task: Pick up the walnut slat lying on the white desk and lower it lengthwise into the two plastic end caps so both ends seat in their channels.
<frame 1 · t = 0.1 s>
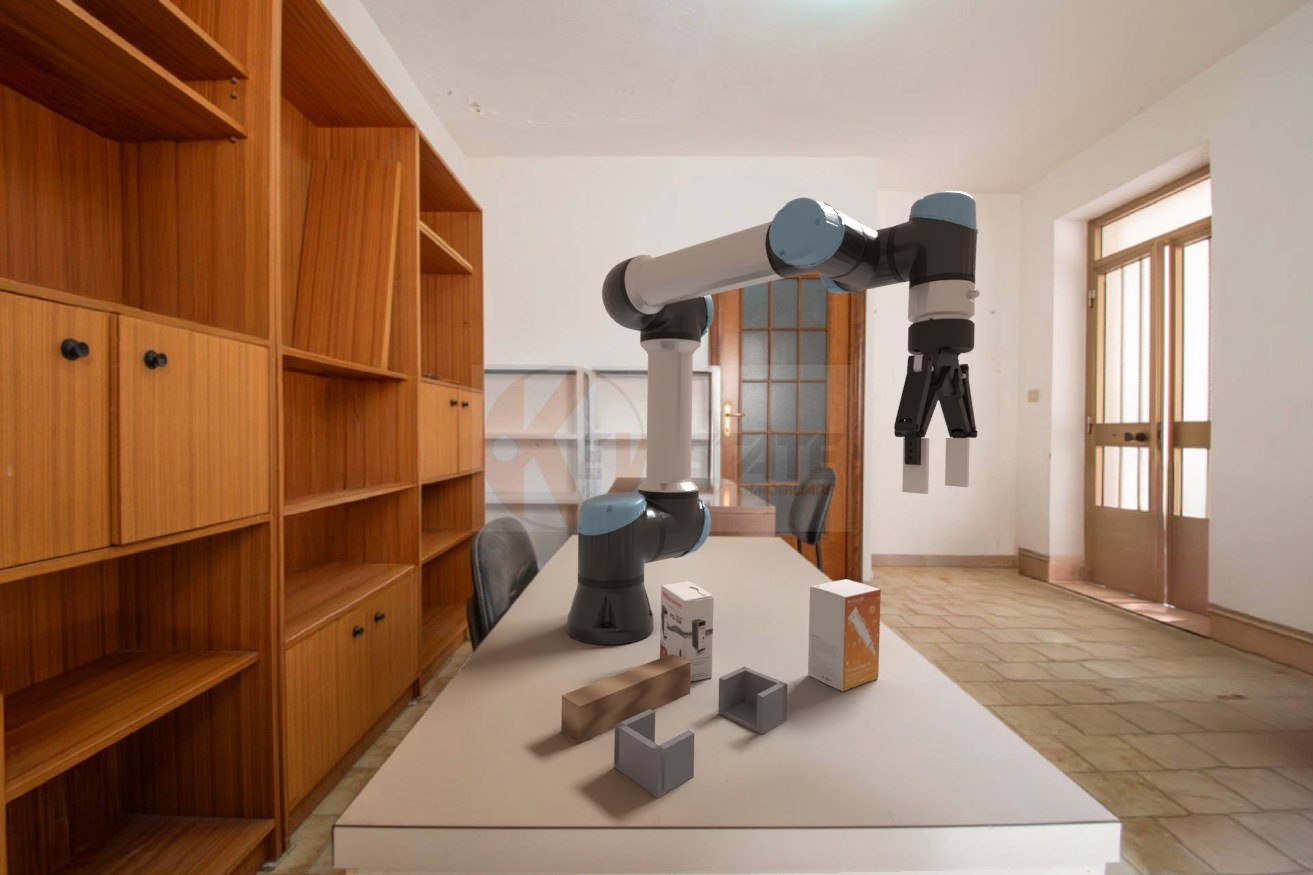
hand: (937, 489, 71), 28 cm above the table, fingers open, 13 cm apart
small box: (843, 678, 80), on the table
ink box: (684, 670, 82), on the table
slat: (630, 713, 70), on the table
endcap a: (653, 771, 57), on the table
endcap b: (752, 716, 69), on the table
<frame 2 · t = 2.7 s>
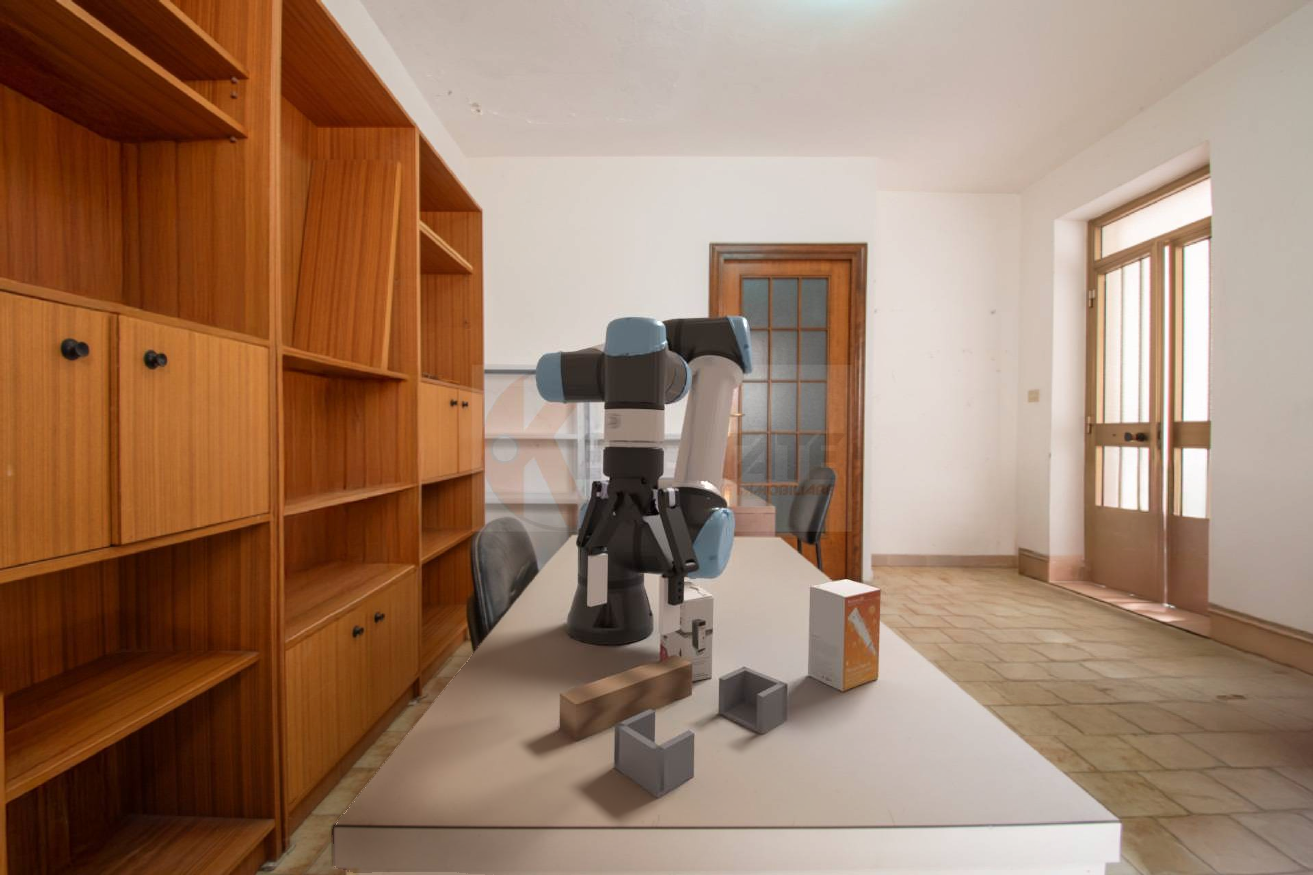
hand: (630, 617, 69), 12 cm above the table, fingers open, 13 cm apart
nothing on the table moved.
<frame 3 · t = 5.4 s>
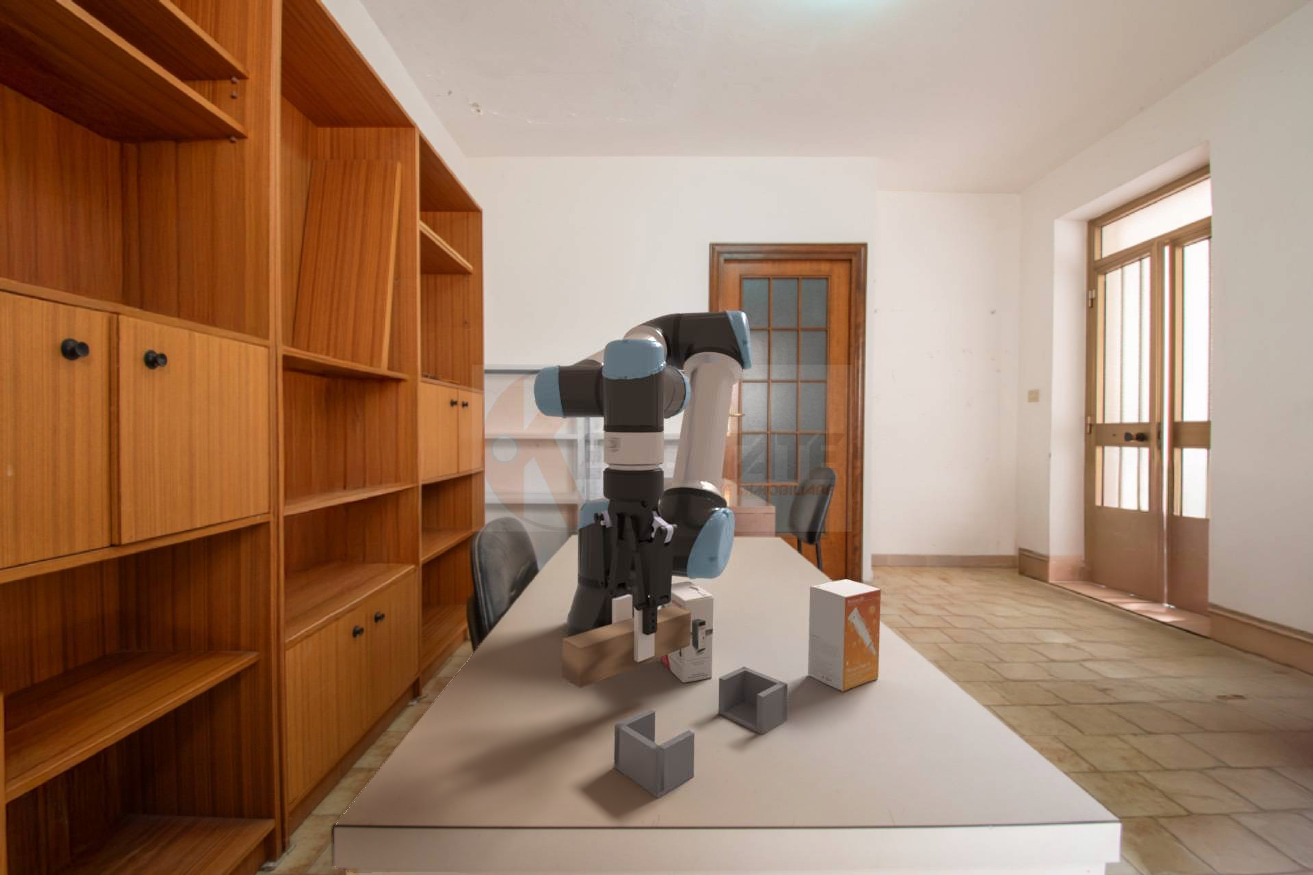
hand: (633, 651, 70), 7 cm above the table, fingers closed on slat, 3 cm apart
slat: (630, 660, 70), point 6 cm above the table, touching gripper
everything else where it was.
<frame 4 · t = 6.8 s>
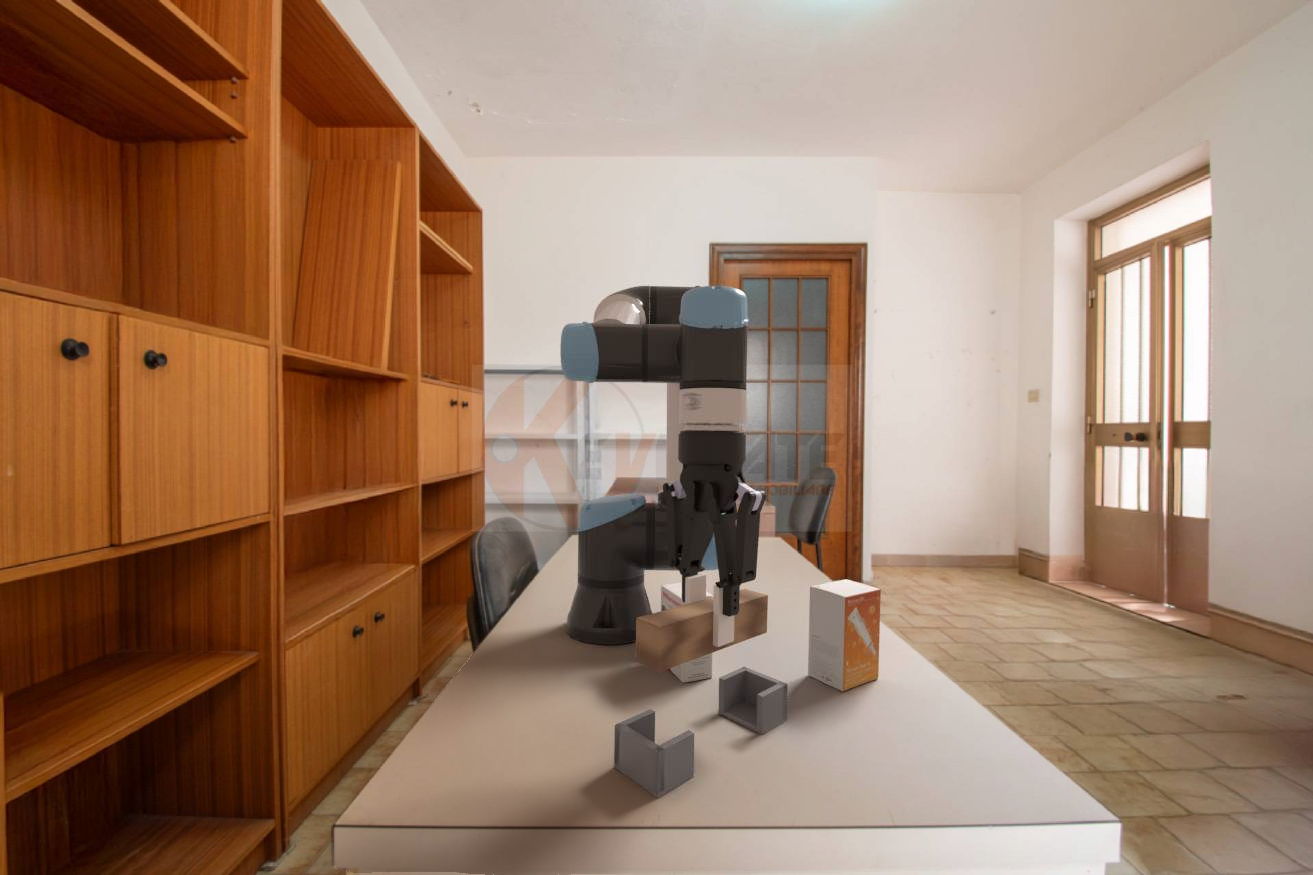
hand: (708, 637, 63), 12 cm above the table, fingers closed on slat, 3 cm apart
slat: (706, 645, 62), point 11 cm above the table, touching gripper
everything else where it was.
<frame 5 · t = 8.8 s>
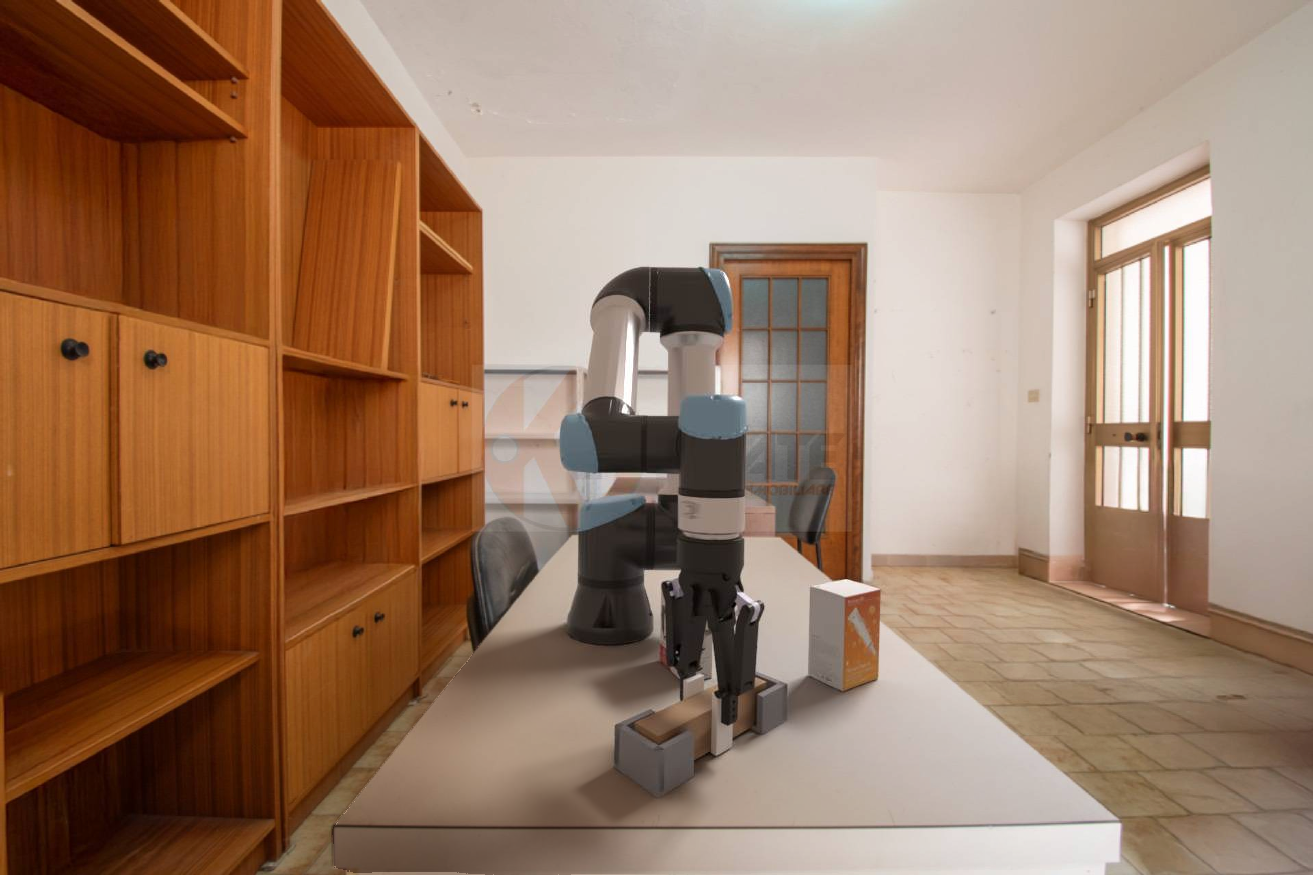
hand: (707, 741, 63), 0 cm above the table, fingers open, 4 cm apart
slat: (705, 740, 62), resting on endcap a, endcap b
everything else where it was.
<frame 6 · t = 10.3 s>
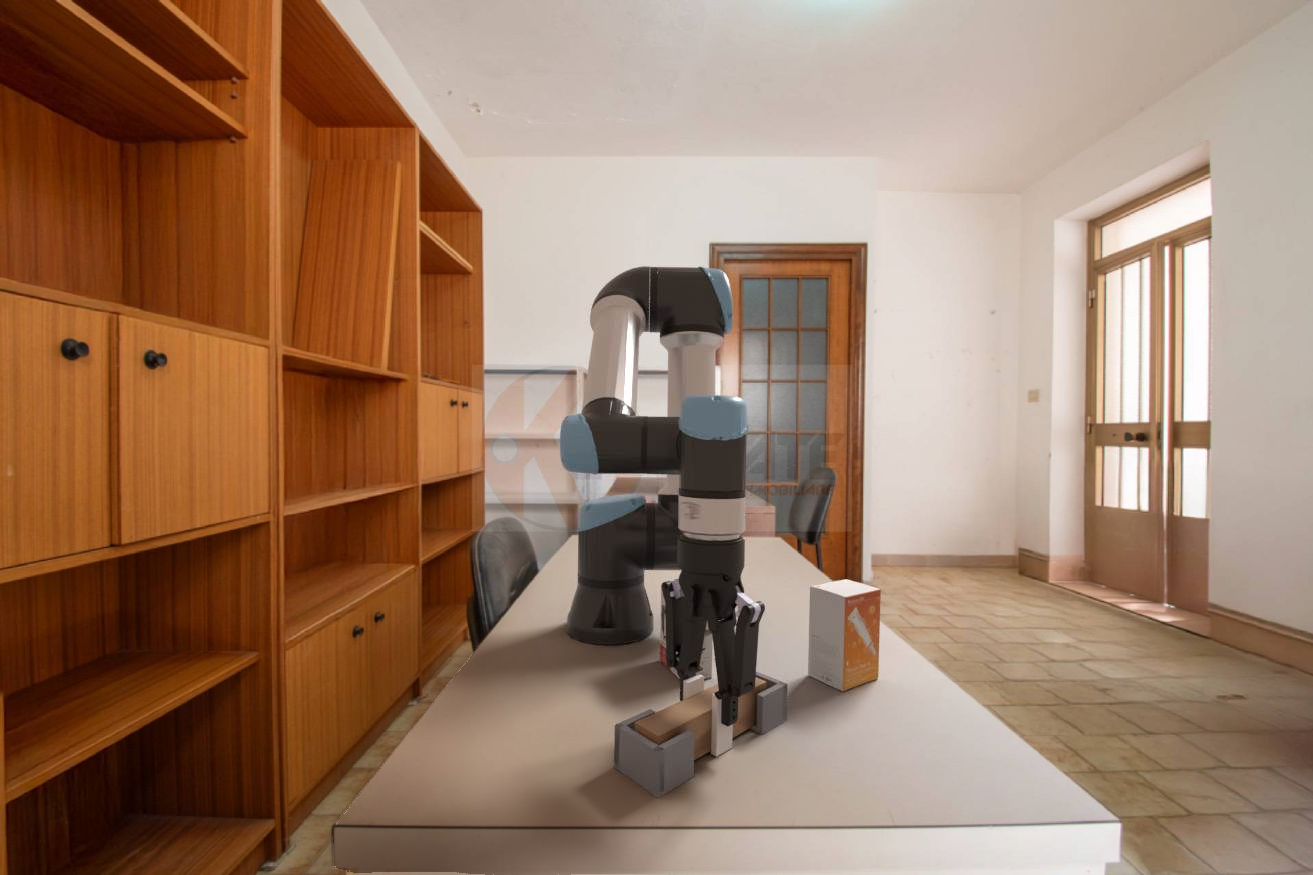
hand: (707, 742, 63), 0 cm above the table, fingers open, 4 cm apart
nothing on the table moved.
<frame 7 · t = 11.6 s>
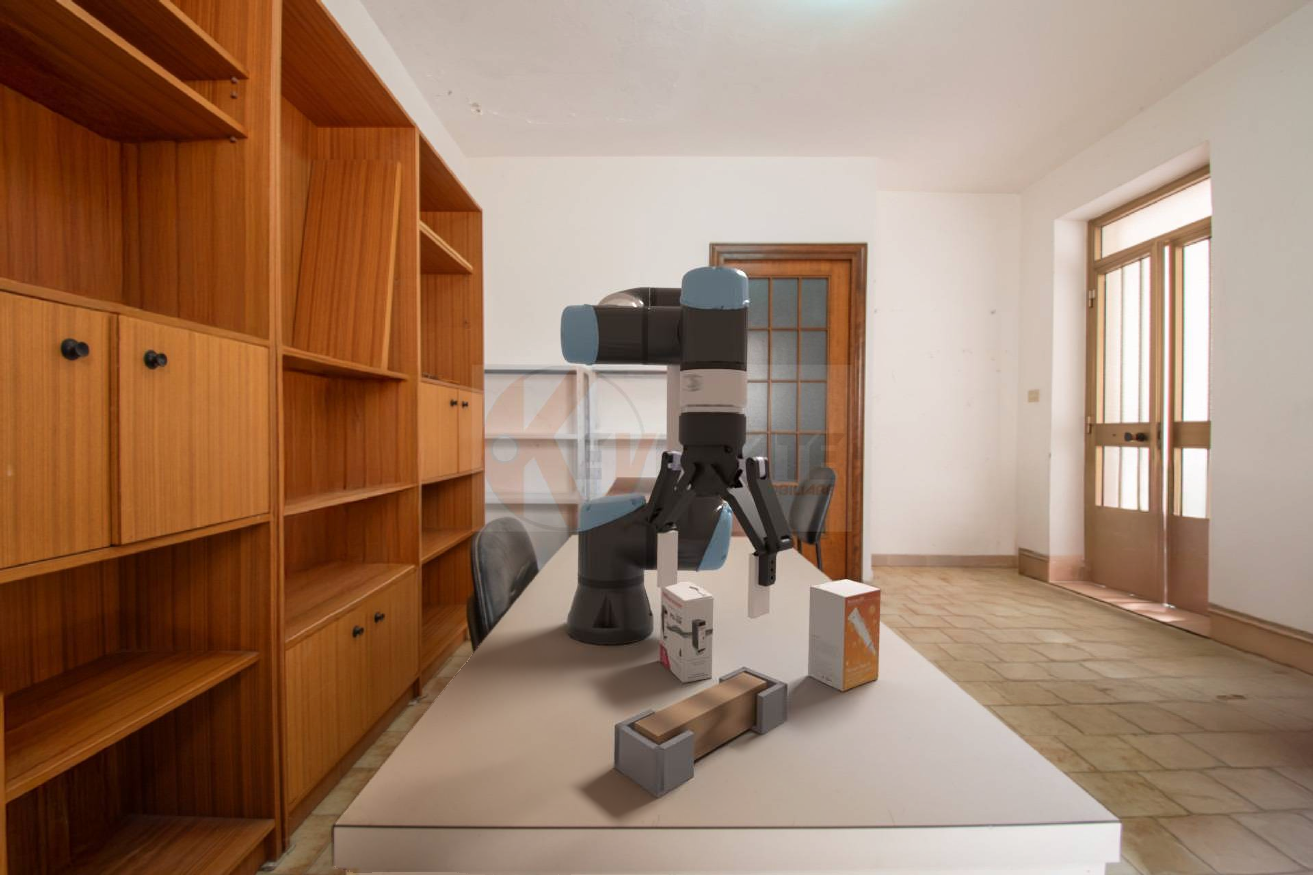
hand: (709, 599, 63), 16 cm above the table, fingers open, 13 cm apart
nothing on the table moved.
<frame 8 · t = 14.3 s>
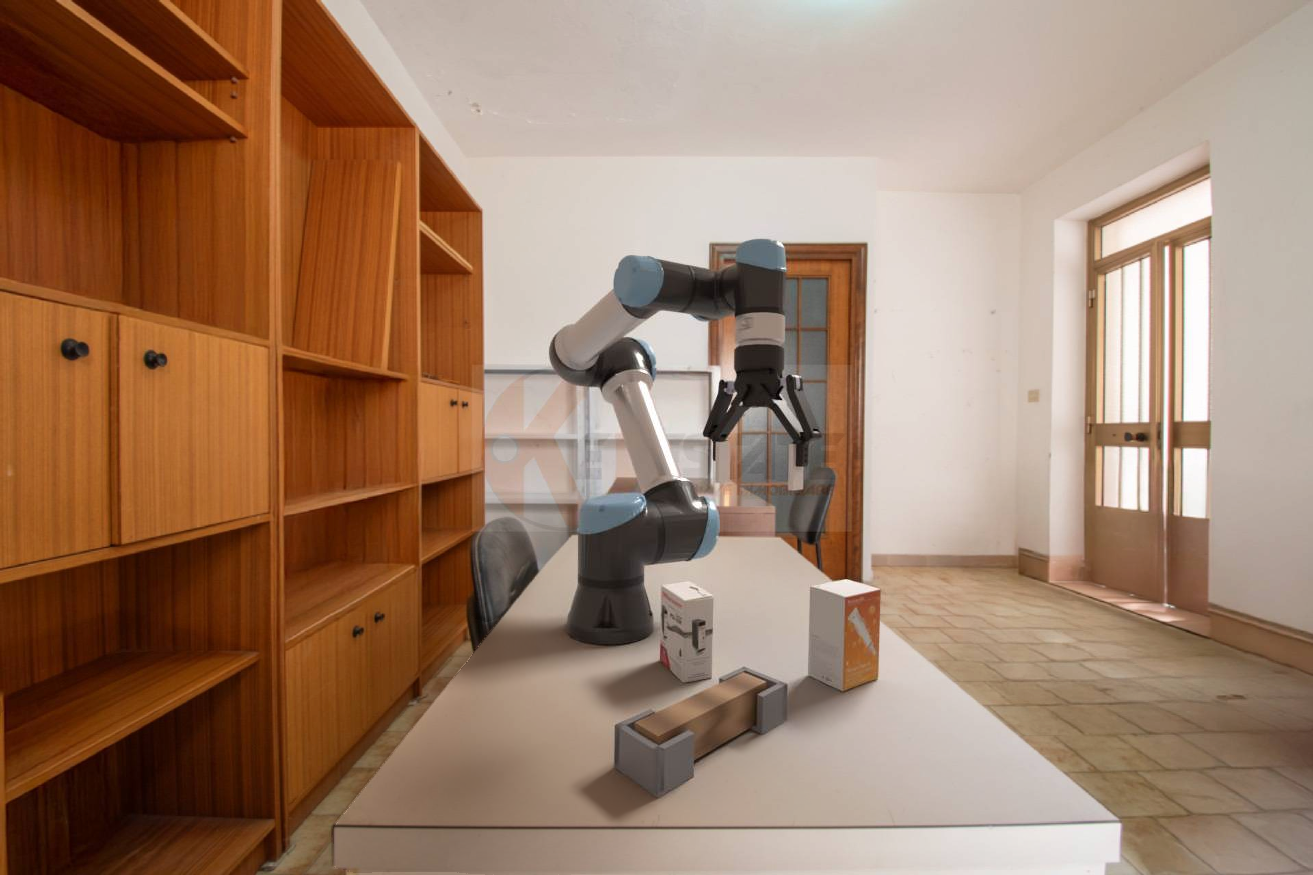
hand: (756, 486, 85), 27 cm above the table, fingers open, 13 cm apart
nothing on the table moved.
at the end: slat 0.6 cm from the target spot, on the table; slat tilted 0°; the gripper is holding nothing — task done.
